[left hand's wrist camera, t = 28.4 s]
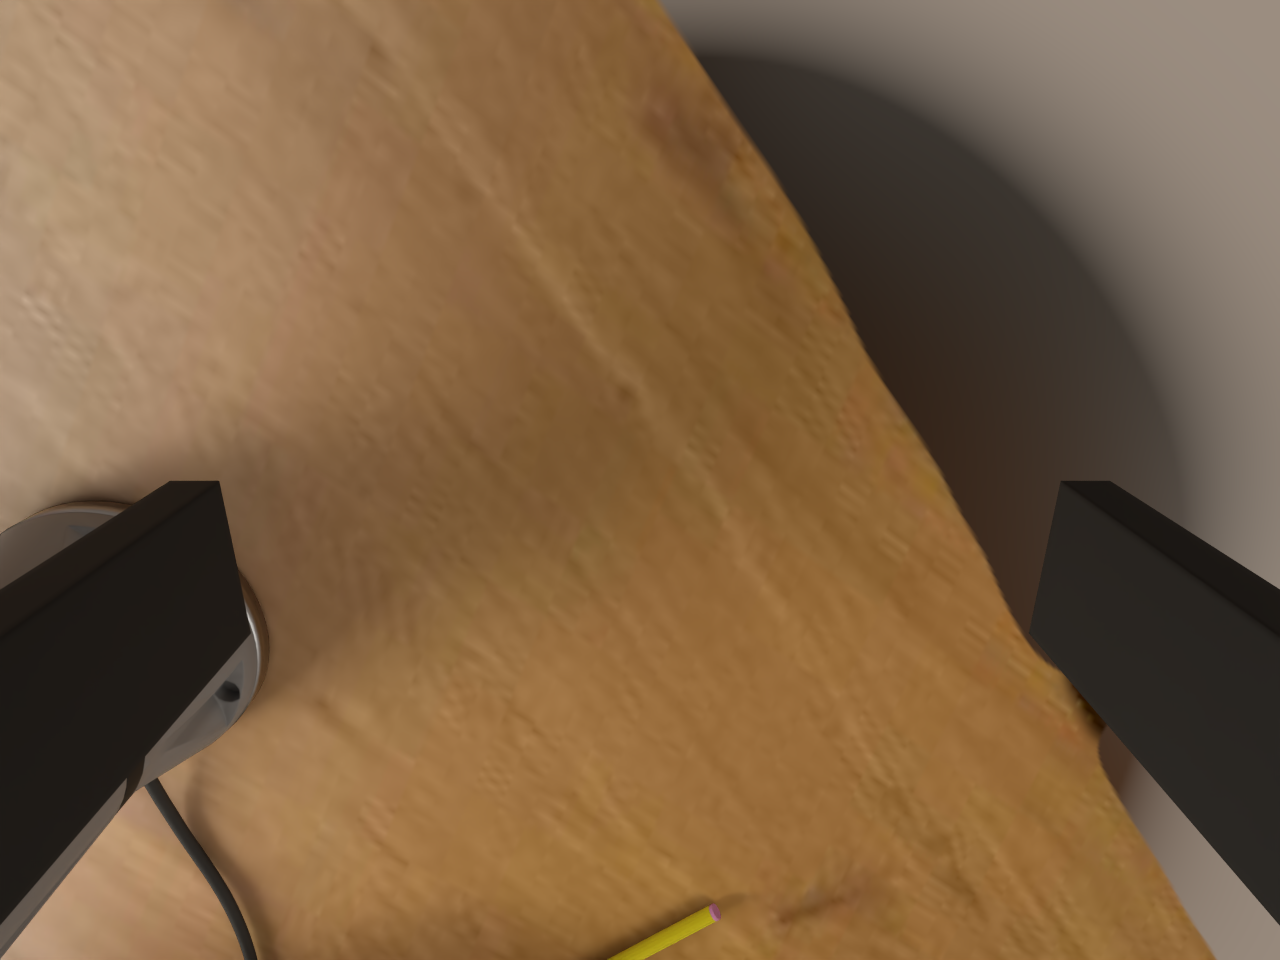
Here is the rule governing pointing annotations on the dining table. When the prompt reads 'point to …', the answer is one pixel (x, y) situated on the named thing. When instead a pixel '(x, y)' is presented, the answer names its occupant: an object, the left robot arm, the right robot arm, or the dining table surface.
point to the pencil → (670, 934)
